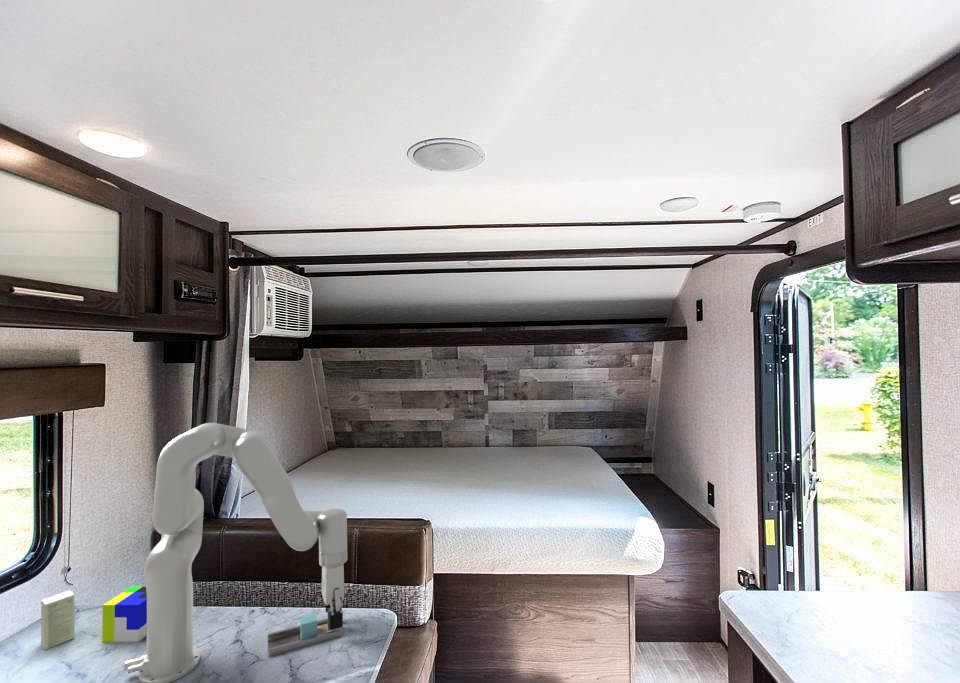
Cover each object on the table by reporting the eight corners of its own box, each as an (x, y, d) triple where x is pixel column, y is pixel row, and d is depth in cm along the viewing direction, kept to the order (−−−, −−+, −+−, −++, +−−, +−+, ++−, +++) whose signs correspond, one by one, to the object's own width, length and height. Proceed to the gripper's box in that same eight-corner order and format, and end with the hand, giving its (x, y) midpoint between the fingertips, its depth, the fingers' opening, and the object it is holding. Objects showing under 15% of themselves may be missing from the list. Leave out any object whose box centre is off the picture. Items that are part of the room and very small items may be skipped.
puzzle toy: (138, 642, 123) (138, 604, 123) (102, 642, 123) (102, 605, 124) (164, 620, 133) (164, 586, 133) (131, 621, 133) (131, 586, 133)
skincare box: (70, 633, 128) (71, 589, 128) (74, 638, 125) (75, 593, 125) (39, 644, 122) (40, 599, 123) (43, 650, 120) (44, 604, 120)
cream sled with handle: (301, 644, 119) (301, 622, 119) (300, 633, 124) (300, 611, 124) (340, 633, 123) (340, 612, 123) (337, 623, 128) (337, 602, 128)
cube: (301, 640, 120) (301, 624, 120) (300, 631, 123) (300, 616, 123) (317, 635, 121) (317, 620, 121) (315, 627, 125) (315, 613, 125)
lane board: (268, 660, 114) (268, 650, 114) (267, 642, 121) (267, 633, 121) (341, 639, 122) (341, 630, 122) (337, 624, 129) (337, 615, 129)
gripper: (315, 547, 132) (316, 607, 131) (323, 571, 116) (323, 640, 116) (342, 542, 135) (342, 601, 135) (352, 565, 120) (353, 632, 119)
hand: (333, 619), depth 125 cm, fingers open, 8 cm apart
